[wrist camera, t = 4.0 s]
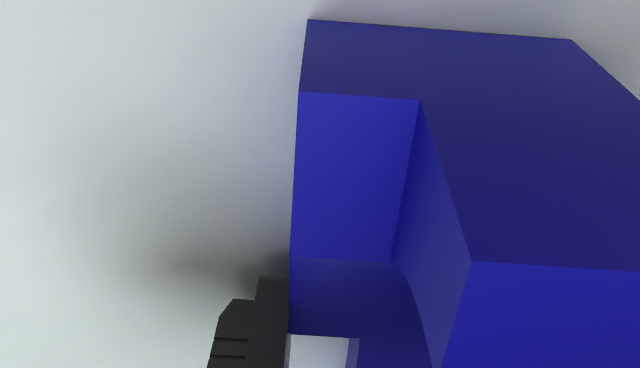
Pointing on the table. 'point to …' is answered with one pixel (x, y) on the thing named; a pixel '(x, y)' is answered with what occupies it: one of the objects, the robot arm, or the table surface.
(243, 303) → the robot arm
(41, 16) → the table surface
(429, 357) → the blue cradle stand
